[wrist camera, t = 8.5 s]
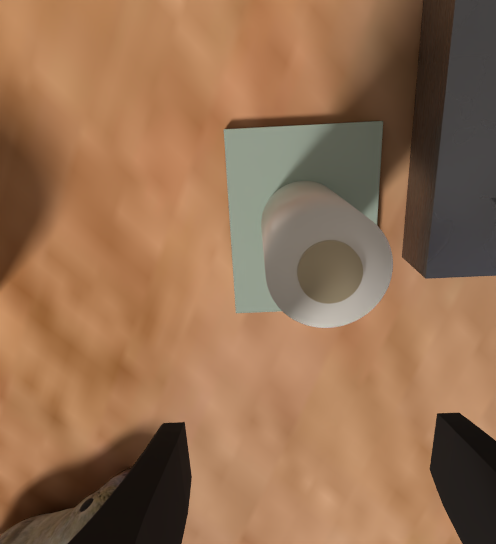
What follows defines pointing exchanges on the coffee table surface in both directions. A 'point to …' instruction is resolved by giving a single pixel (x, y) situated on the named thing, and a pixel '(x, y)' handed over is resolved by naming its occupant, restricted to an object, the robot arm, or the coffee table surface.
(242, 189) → the mat
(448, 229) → the housing
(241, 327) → the coffee table surface
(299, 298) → the plug
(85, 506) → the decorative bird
